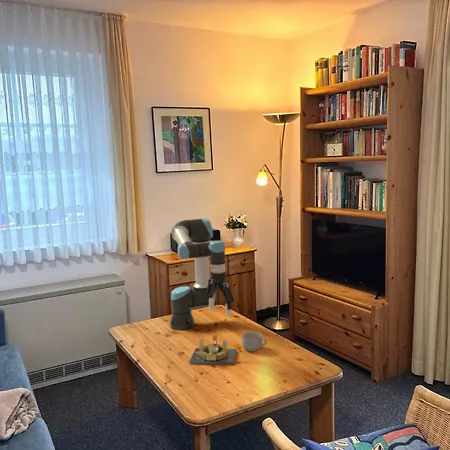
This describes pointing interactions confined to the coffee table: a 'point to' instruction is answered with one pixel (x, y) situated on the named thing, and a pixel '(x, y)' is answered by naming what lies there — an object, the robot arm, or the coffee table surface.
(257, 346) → the teacup
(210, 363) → the housing
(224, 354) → the ring nut
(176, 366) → the coffee table surface
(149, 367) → the coffee table surface
